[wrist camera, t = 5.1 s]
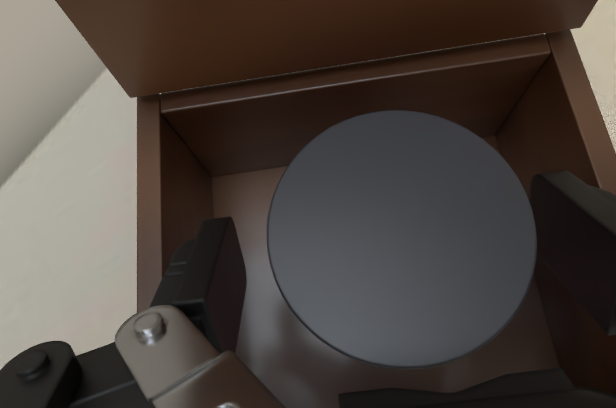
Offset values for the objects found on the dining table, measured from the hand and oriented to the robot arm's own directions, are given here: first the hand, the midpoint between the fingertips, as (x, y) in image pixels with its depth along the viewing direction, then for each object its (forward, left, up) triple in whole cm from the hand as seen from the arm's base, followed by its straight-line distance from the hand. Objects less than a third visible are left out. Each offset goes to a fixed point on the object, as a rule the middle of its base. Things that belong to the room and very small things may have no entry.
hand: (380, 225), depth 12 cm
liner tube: (0, -1, -7) cm, 7 cm away
